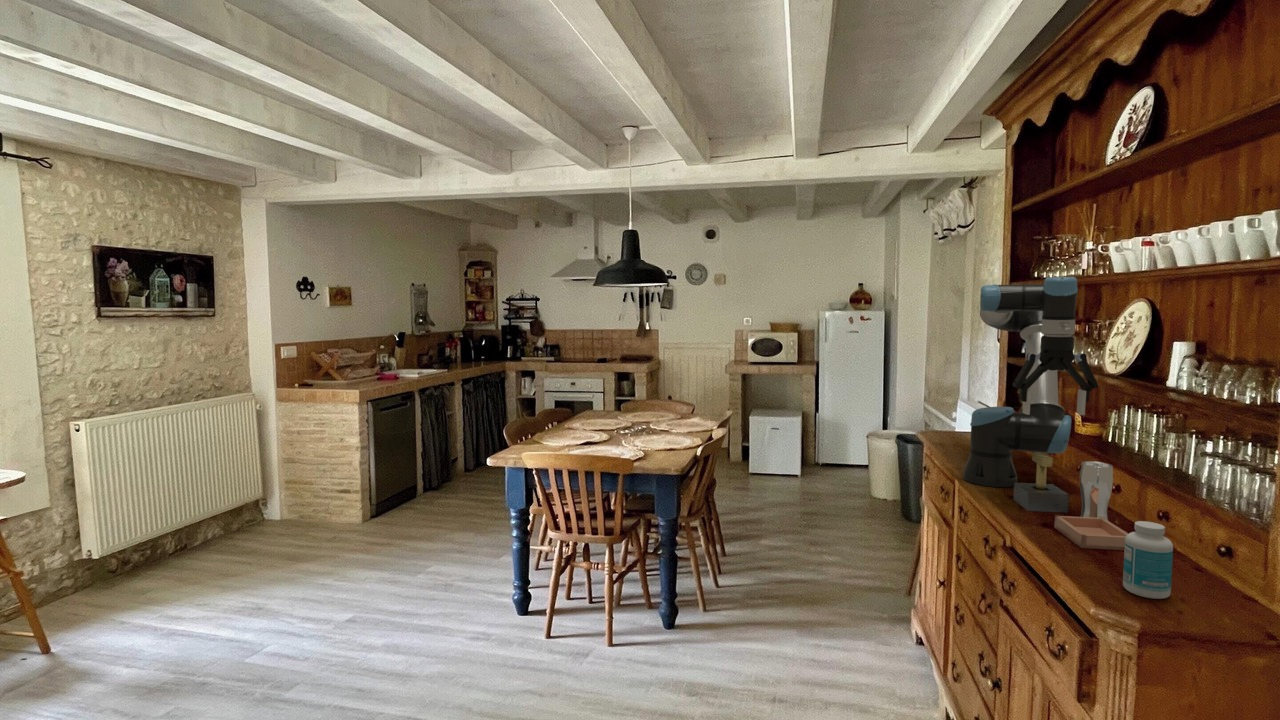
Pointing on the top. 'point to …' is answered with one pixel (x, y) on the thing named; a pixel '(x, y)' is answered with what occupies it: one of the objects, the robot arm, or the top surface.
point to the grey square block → (1041, 498)
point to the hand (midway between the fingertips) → (1053, 414)
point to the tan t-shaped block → (1041, 468)
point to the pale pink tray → (1091, 532)
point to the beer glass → (1095, 488)
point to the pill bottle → (1148, 561)
